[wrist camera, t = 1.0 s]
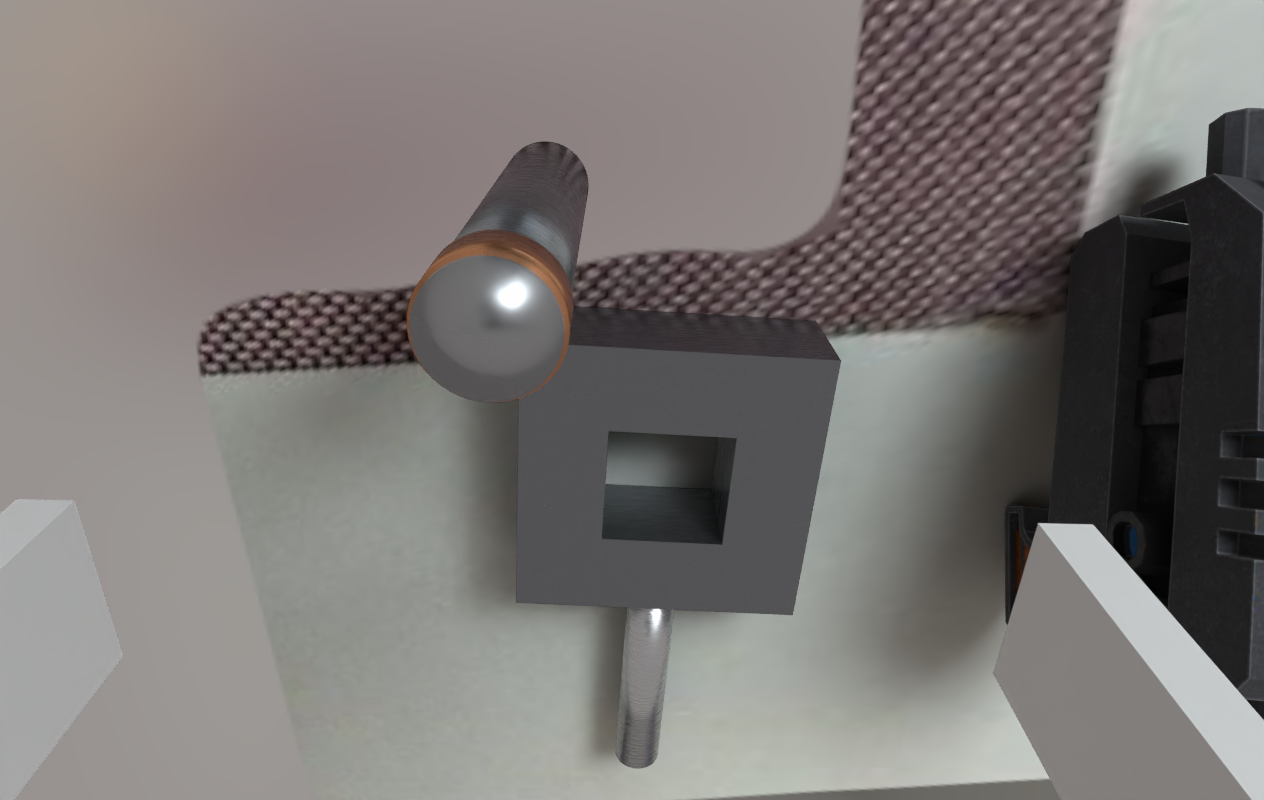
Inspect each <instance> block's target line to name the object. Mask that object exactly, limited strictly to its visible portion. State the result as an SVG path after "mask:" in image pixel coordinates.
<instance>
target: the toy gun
mask: <svg viewBox="0 0 1264 800" xmlns="http://www.w3.org/2000/svg"><path fill="white" fill-rule="evenodd" d="M1140 217H1146V218H1153V219H1160V220H1167V221H1173V222H1180V223H1187V224H1188V225H1185V224H1178V223H1171V222H1165V221H1158V220H1151V219H1144V218H1138V217H1131V216H1124V215H1118V216H1116V217H1114V218H1112V219H1110V220H1108V221H1106V222H1104V223H1103V224H1101V225H1099V226H1097V227H1095V228H1093V229H1091V230H1089V231H1087V232H1086V233H1085V234H1084V236H1083V237H1082V239H1081V241H1080V243H1079V244H1078V246H1077V248H1076V250H1075V252H1074V253H1073V255H1072V257H1071V268H1070V279H1069V290H1068V302H1067V313H1066V324H1065V336H1064V347H1063V358H1062V369H1061V381H1060V392H1059V403H1058V415H1057V426H1056V437H1055V449H1054V460H1053V471H1052V483H1051V494H1050V505H1049V509H1047V508H1039V507H1030V506H1007V507H1006V509H1005V610H1006V624H1007V625H1008V622H1009V619H1010V615H1011V612H1012V609H1013V605H1014V602H1015V599H1016V595H1017V592H1018V589H1019V585H1020V582H1021V579H1022V575H1023V572H1024V569H1025V565H1026V562H1027V559H1028V555H1029V552H1030V549H1031V545H1032V542H1033V539H1034V535H1035V532H1036V529H1037V525H1038V523H1052V524H1093V525H1094V526H1095V527H1096V528H1097V530H1098V531H1099V532H1100V533H1101V534H1102V535H1103V537H1104V538H1105V539H1106V540H1107V541H1108V542H1109V543H1110V545H1111V546H1112V547H1113V548H1114V549H1115V550H1116V551H1117V553H1118V554H1119V555H1120V556H1121V557H1122V558H1123V559H1124V561H1125V562H1126V563H1127V564H1128V565H1129V566H1130V567H1131V569H1132V570H1133V571H1134V572H1135V573H1136V574H1137V575H1138V577H1139V578H1140V579H1141V580H1142V581H1143V582H1144V584H1145V585H1146V586H1147V587H1148V588H1149V589H1150V590H1151V592H1152V593H1153V594H1154V595H1155V596H1156V597H1157V598H1158V600H1159V601H1160V602H1161V603H1162V604H1163V605H1164V606H1165V608H1166V609H1167V610H1168V611H1169V612H1170V613H1171V614H1172V616H1173V617H1174V618H1175V619H1176V620H1177V621H1178V622H1179V624H1180V625H1181V626H1182V627H1183V628H1184V629H1185V631H1186V632H1187V633H1188V634H1189V635H1190V636H1191V637H1192V639H1193V640H1194V641H1195V642H1196V643H1197V644H1198V645H1199V647H1200V648H1201V649H1202V650H1203V651H1204V652H1205V653H1206V655H1207V656H1208V657H1209V658H1210V659H1211V660H1212V661H1213V663H1214V664H1215V665H1216V666H1217V667H1218V668H1219V669H1220V671H1221V672H1222V673H1223V674H1224V675H1225V676H1226V678H1227V679H1228V680H1229V681H1230V682H1231V683H1232V684H1233V686H1234V687H1235V688H1236V689H1237V690H1238V691H1239V692H1240V694H1241V695H1242V696H1243V697H1244V698H1245V699H1246V700H1247V702H1248V703H1249V704H1250V705H1251V706H1252V707H1253V708H1254V710H1255V711H1256V712H1257V713H1258V714H1259V715H1260V716H1261V718H1262V719H1263V720H1264V109H1262V108H1246V109H1241V110H1236V111H1232V112H1227V113H1225V114H1223V115H1222V116H1220V117H1219V118H1218V119H1216V120H1215V121H1213V122H1212V123H1211V124H1209V134H1208V151H1207V168H1206V177H1204V178H1202V179H1200V180H1197V181H1195V182H1193V183H1190V184H1188V185H1186V186H1184V187H1181V188H1179V189H1177V190H1174V191H1172V192H1170V193H1168V194H1165V195H1163V196H1161V197H1158V198H1156V199H1154V200H1151V201H1149V202H1147V203H1145V204H1142V205H1140Z"/></svg>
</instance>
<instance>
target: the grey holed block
mask: <svg viewBox="0 0 1264 800" xmlns="http://www.w3.org/2000/svg"><path fill="white" fill-rule="evenodd" d="M840 363H841V360H840V358H839V357H838V355H837V354H836V352H835V351H834V349H833V347H832V346H831V344H830V343H829V341H828V339H827V338H826V336H825V335H824V333H823V332H822V330H821V328H820V327H819V325H818V324H817V322H816V321H808V320H791V319H775V318H758V317H741V316H725V315H708V314H692V313H675V312H659V311H642V310H625V309H609V308H592V307H576V306H573V317H572V323H571V330H570V337H569V344H568V348H567V352H566V355H565V357H564V360H563V362H562V364H561V366H560V367H559V369H558V371H557V372H556V373H555V374H554V376H553V377H552V378H551V379H550V380H549V381H548V382H547V383H546V384H545V385H544V386H542V387H541V388H540V389H538V390H537V391H535V392H533V393H531V394H529V395H527V396H525V397H522V398H520V399H519V400H518V485H517V571H516V603H536V604H559V605H581V606H603V607H625V608H627V614H626V626H625V638H624V650H623V662H622V674H621V686H620V698H619V710H618V722H617V735H616V747H615V753H616V756H617V758H618V759H619V761H620V762H621V763H623V764H624V765H626V766H628V767H631V768H644V767H647V766H649V765H651V764H652V763H653V762H654V761H655V760H656V758H657V755H658V747H659V738H660V729H661V720H662V711H663V702H664V693H665V685H666V676H667V667H668V658H669V649H670V640H671V632H672V623H673V614H674V610H692V611H714V612H736V613H759V614H781V615H793V611H794V605H795V600H796V595H797V590H798V584H799V579H800V574H801V569H802V563H803V558H804V553H805V547H806V542H807V537H808V532H809V526H810V521H811V516H812V511H813V505H814V500H815V495H816V489H817V484H818V479H819V474H820V468H821V463H822V458H823V453H824V447H825V442H826V437H827V431H828V426H829V421H830V416H831V410H832V405H833V400H834V395H835V389H836V384H837V379H838V374H839V368H840ZM609 431H615V432H633V433H652V434H670V435H689V436H707V437H718V443H717V451H716V459H715V467H714V475H713V483H712V490H707V489H688V488H668V487H649V486H629V485H610V484H605V479H606V463H607V448H608V432H609Z"/></svg>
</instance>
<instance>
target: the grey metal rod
mask: <svg viewBox="0 0 1264 800" xmlns="http://www.w3.org/2000/svg"><path fill="white" fill-rule="evenodd" d="M587 195H588V177H587V173H586V170H585V168H584V166H583V164H582V162H581V161H580V160H579V158H578V157H577V156H576V155H575V154H574V153H573V152H572V151H571V150H570V149H568V148H566V147H565V146H562V145H560V144H557V143H554V142H536V143H533V144H530V145H528V146H526V147H524V148H522V149H521V150H520V151H518V152H517V153H516V154H515V155H514V156H513V158H512V160H511V161H510V162H509V164H508V165H507V166H506V168H505V169H504V171H503V172H502V174H501V175H500V176H499V178H498V179H497V181H496V182H495V184H494V185H493V187H492V188H491V189H490V191H489V192H488V194H487V195H486V196H485V198H484V199H483V201H482V202H481V204H480V205H479V206H478V208H477V209H476V211H475V212H474V214H473V215H472V216H471V218H470V219H469V221H468V222H467V223H466V225H465V226H464V228H463V229H462V231H461V232H460V234H459V235H458V236H457V238H456V239H455V241H453V242H452V243H451V244H450V245H448V246H447V247H446V248H444V249H443V251H442V252H441V253H440V254H439V255H438V256H437V258H436V259H435V260H434V262H433V263H432V264H431V266H430V267H429V269H428V270H427V271H426V273H425V274H424V276H423V277H422V279H421V280H420V281H419V283H418V284H417V285H416V287H415V289H414V291H413V293H412V295H411V298H410V302H409V305H408V311H407V332H408V337H409V341H410V345H411V347H412V350H413V352H414V354H415V356H416V358H417V360H418V361H419V363H420V364H421V366H422V367H423V369H424V370H425V371H426V372H427V373H428V374H429V375H430V376H431V377H432V379H434V380H435V381H436V382H437V383H438V384H440V385H441V386H442V387H444V388H446V389H447V390H449V391H450V392H452V393H454V394H456V395H458V396H461V397H464V398H467V399H470V400H474V401H479V402H488V403H499V402H507V401H512V400H516V399H520V398H522V397H525V396H527V395H529V394H531V393H533V392H535V391H537V390H538V389H540V388H541V387H542V386H544V385H545V384H546V383H547V382H548V381H549V380H550V379H551V378H552V377H553V376H554V374H555V373H556V372H557V371H558V369H559V367H560V366H561V364H562V362H563V360H564V357H565V355H566V352H567V348H568V344H569V337H570V330H571V323H572V317H573V295H572V288H573V282H574V275H575V269H576V263H577V257H578V251H579V244H580V238H581V232H582V226H583V220H584V213H585V208H586V202H587Z"/></svg>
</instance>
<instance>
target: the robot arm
mask: <svg viewBox="0 0 1264 800" xmlns="http://www.w3.org/2000/svg"><path fill="white" fill-rule="evenodd" d="M122 657H123V654H122V650H121V647H120V644H119V641H118V637H117V634H116V631H115V628H114V625H113V622H112V618H111V615H110V612H109V609H108V606H107V602H106V599H105V596H104V593H103V590H102V587H101V583H100V580H99V577H98V574H97V570H96V567H95V564H94V561H93V558H92V555H91V551H90V548H89V545H88V541H87V539H86V535H85V532H84V529H83V526H82V522H81V519H80V516H79V513H78V510H77V506H76V503H75V501H74V500H39V499H38V500H37V499H16V500H15V501H14V502H13V503H12V504H10V505H9V506H8V507H7V508H6V509H4V510H3V511H2V512H1V513H0V800H15V799H16V798H17V796H18V795H19V794H20V792H21V791H22V790H23V788H24V787H25V786H26V784H27V783H28V782H29V780H30V779H31V778H32V776H33V775H34V774H35V772H36V771H37V770H38V768H39V767H40V766H41V764H42V763H43V762H44V760H45V759H46V758H47V756H48V755H49V754H50V752H51V751H52V750H53V749H54V747H55V746H56V745H57V743H58V742H59V741H60V739H61V738H62V737H63V735H64V734H65V733H66V731H67V730H68V729H69V727H70V726H71V725H72V723H73V722H74V721H75V719H76V718H77V717H78V715H79V714H80V712H81V711H82V710H83V709H84V707H85V706H86V705H87V703H88V702H89V701H90V699H91V698H92V697H93V695H94V694H95V693H96V691H97V690H98V689H99V687H100V686H101V685H102V683H103V682H104V681H105V679H106V678H107V677H108V675H109V674H110V673H111V671H112V670H113V669H114V667H115V666H116V665H117V663H118V662H119V661H120V660H121V658H122ZM993 674H994V676H995V677H996V679H997V681H998V683H999V685H1000V687H1001V689H1002V690H1003V692H1004V694H1005V696H1006V698H1007V700H1008V702H1009V703H1010V705H1011V707H1012V709H1013V711H1014V713H1015V715H1016V717H1017V718H1018V720H1019V722H1020V724H1021V726H1022V728H1023V730H1024V731H1025V733H1026V735H1027V737H1028V739H1029V741H1030V743H1031V744H1032V746H1033V748H1034V750H1035V752H1036V754H1037V756H1038V757H1039V759H1040V761H1041V763H1042V765H1043V767H1044V769H1045V770H1046V772H1047V774H1048V776H1049V778H1050V780H1051V782H1052V783H1053V785H1054V787H1055V789H1056V791H1057V793H1058V795H1059V797H1060V798H1061V800H1264V720H1263V719H1262V718H1261V716H1260V715H1259V714H1258V713H1257V712H1256V711H1255V710H1254V708H1253V707H1252V706H1251V705H1250V704H1249V703H1248V702H1247V700H1246V699H1245V698H1244V697H1243V696H1242V695H1241V694H1240V692H1239V691H1238V690H1237V689H1236V688H1235V687H1234V686H1233V684H1232V683H1231V682H1230V681H1229V680H1228V679H1227V678H1226V676H1225V675H1224V674H1223V673H1222V672H1221V671H1220V669H1219V668H1218V667H1217V666H1216V665H1215V664H1214V663H1213V661H1212V660H1211V659H1210V658H1209V657H1208V656H1207V655H1206V653H1205V652H1204V651H1203V650H1202V649H1201V648H1200V647H1199V645H1198V644H1197V643H1196V642H1195V641H1194V640H1193V639H1192V637H1191V636H1190V635H1189V634H1188V633H1187V632H1186V631H1185V629H1184V628H1183V627H1182V626H1181V625H1180V624H1179V622H1178V621H1177V620H1176V619H1175V618H1174V617H1173V616H1172V614H1171V613H1170V612H1169V611H1168V610H1167V609H1166V608H1165V606H1164V605H1163V604H1162V603H1161V602H1160V601H1159V600H1158V598H1157V597H1156V596H1155V595H1154V594H1153V593H1152V592H1151V590H1150V589H1149V588H1148V587H1147V586H1146V585H1145V584H1144V582H1143V581H1142V580H1141V579H1140V578H1139V577H1138V575H1137V574H1136V573H1135V572H1134V571H1133V570H1132V569H1131V567H1130V566H1129V565H1128V564H1127V563H1126V562H1125V561H1124V559H1123V558H1122V557H1121V556H1120V555H1119V554H1118V553H1117V551H1116V550H1115V549H1114V548H1113V547H1112V546H1111V545H1110V543H1109V542H1108V541H1107V540H1106V539H1105V538H1104V537H1103V535H1102V534H1101V533H1100V532H1099V531H1098V530H1097V528H1096V527H1095V526H1094V525H1093V524H1052V523H1038V525H1037V529H1036V532H1035V535H1034V539H1033V542H1032V545H1031V549H1030V552H1029V555H1028V559H1027V562H1026V565H1025V569H1024V572H1023V575H1022V579H1021V582H1020V585H1019V589H1018V592H1017V595H1016V599H1015V602H1014V605H1013V609H1012V612H1011V615H1010V619H1009V622H1008V625H1007V629H1006V632H1005V635H1004V639H1003V642H1002V645H1001V649H1000V652H999V655H998V659H997V662H996V665H995V669H994V672H993Z"/></svg>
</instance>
